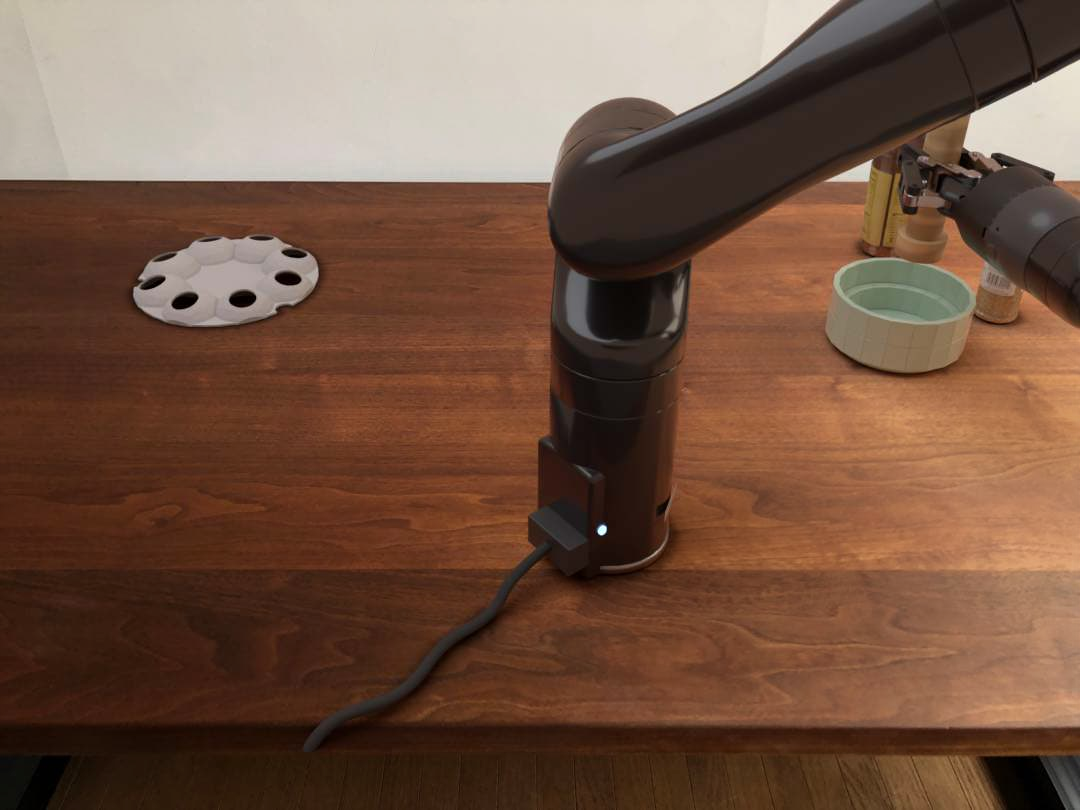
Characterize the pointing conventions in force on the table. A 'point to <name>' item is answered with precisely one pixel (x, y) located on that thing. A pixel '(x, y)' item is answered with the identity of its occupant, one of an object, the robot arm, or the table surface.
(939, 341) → the bowl
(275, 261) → the paint palette
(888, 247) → the sauce bottle
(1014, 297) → the sprinkles bottle
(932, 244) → the pestle
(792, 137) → the robot arm
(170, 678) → the table surface
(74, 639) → the table surface
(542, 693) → the table surface
